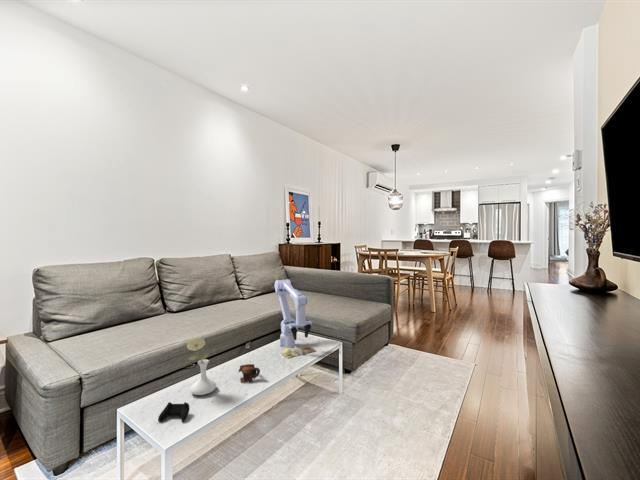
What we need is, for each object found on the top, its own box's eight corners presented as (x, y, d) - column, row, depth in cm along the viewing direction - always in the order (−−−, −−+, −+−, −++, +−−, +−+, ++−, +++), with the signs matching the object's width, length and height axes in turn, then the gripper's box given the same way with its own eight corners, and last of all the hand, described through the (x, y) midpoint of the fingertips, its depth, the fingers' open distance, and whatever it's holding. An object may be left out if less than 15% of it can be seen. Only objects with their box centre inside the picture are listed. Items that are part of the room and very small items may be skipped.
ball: (286, 358, 179) (282, 354, 177) (287, 352, 182) (283, 348, 181) (292, 355, 178) (288, 351, 176) (292, 350, 182) (288, 346, 180)
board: (287, 360, 175) (287, 354, 175) (280, 355, 182) (280, 349, 182) (316, 353, 186) (316, 347, 186) (308, 348, 194) (308, 343, 194)
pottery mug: (234, 383, 148) (234, 365, 152) (244, 384, 156) (244, 367, 160) (256, 380, 146) (256, 362, 150) (265, 380, 154) (264, 363, 158)
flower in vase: (218, 384, 147) (218, 332, 146) (214, 396, 135) (214, 341, 135) (189, 386, 144) (189, 334, 144) (183, 399, 133) (183, 342, 133)
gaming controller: (188, 424, 119) (193, 404, 124) (184, 420, 116) (190, 401, 121) (160, 424, 119) (166, 404, 124) (156, 420, 116) (163, 400, 121)
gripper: (293, 319, 176) (293, 342, 176) (314, 315, 184) (314, 338, 184) (287, 316, 182) (287, 339, 182) (308, 313, 190) (308, 334, 190)
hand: (300, 338), depth 183 cm, fingers open, 7 cm apart
